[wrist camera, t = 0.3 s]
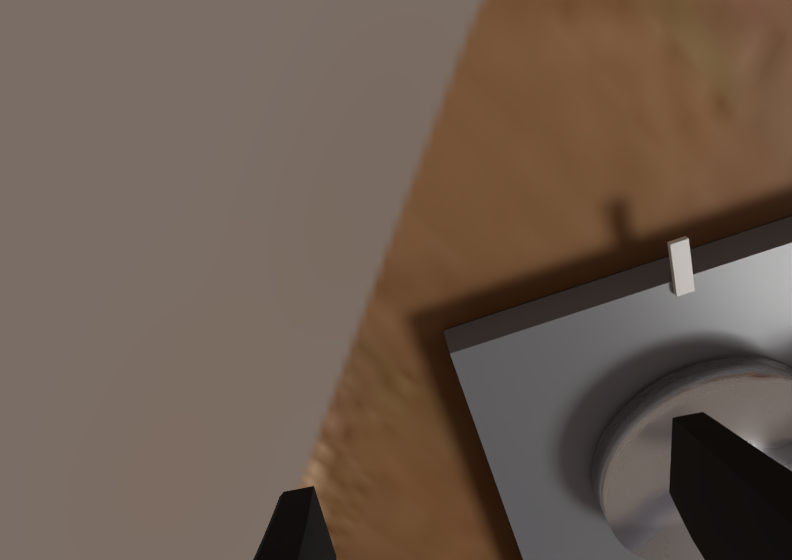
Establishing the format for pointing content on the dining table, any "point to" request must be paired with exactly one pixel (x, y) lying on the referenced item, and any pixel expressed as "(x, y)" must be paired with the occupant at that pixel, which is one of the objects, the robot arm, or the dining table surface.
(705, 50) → the dining table surface
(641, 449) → the dial
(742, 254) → the dial plate
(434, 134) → the dining table surface
